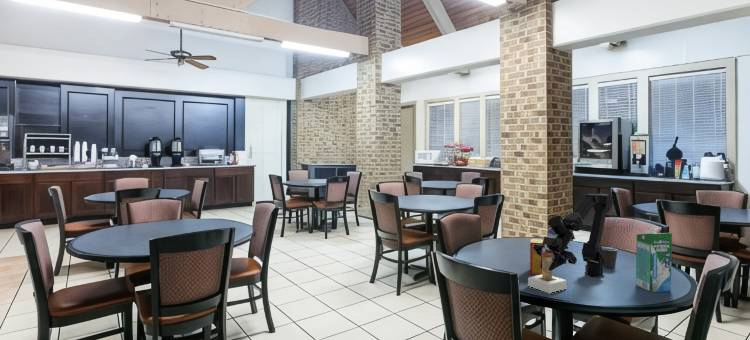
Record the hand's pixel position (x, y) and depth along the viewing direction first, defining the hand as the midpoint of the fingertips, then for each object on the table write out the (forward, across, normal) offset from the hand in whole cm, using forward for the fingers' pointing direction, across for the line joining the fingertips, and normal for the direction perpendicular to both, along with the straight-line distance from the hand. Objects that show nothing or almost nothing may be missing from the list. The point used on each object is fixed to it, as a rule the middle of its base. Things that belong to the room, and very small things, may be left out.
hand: (545, 269), depth 176 cm
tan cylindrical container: (+4, 0, +6) cm, 7 cm away
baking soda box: (-6, -17, +18) cm, 26 cm away
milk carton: (-22, +24, +34) cm, 47 cm away
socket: (+5, 0, +7) cm, 9 cm away
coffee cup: (-32, -4, +45) cm, 56 cm away
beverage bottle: (-28, -31, +41) cm, 59 cm away
